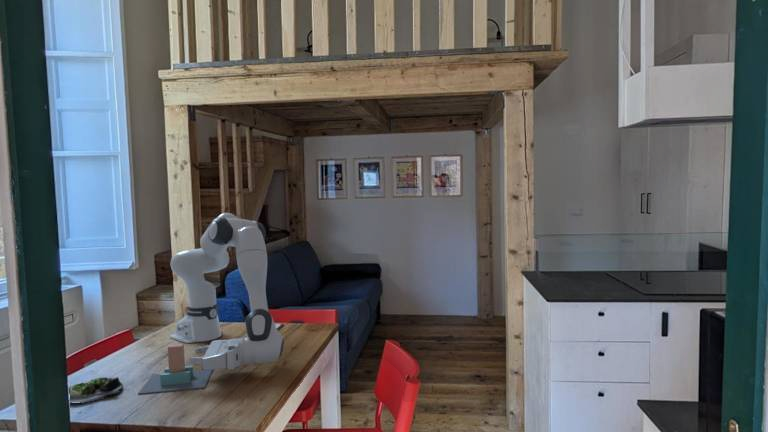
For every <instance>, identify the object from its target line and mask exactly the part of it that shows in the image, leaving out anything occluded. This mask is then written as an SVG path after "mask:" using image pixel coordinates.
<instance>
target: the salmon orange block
mask: <svg viewBox="0 0 768 432" xmlns="http://www.w3.org/2000/svg"><path fill="white" fill-rule="evenodd" d="M184 344H185V343H177V344H169V345H168V346H167V356H168V357H167V359H168V361H167V362H168V363H167V364H168V368H169V373H173V372H184V371H185V366H186V365H185V364H186V363H185V345H184Z"/></svg>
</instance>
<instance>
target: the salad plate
mask: <svg viewBox="0 0 768 432" xmlns="http://www.w3.org/2000/svg"><path fill="white" fill-rule="evenodd" d="M68 387H69V394H70V405H71V403H72V402H80V403H82V402H88V403H90V402H89V401H92V402H95V401H94V400H96V401H99V400H102V398H104V399H106V397H107V398H110V396H111V397H113V396H115V394H116V395H117V393H118V394H119V393H121V392H122V390H123V388H124V384H123V383H122V382H121V381H120V379H119V376H117V377H113V376H111V377H109V376H108V377H106V376H105V377H99V378H98V377H97V378H95V379H91V380H90V381H87V382H86V381H85V382H81V383H77V384H74V385H71V386H68ZM98 399H99V400H98Z"/></svg>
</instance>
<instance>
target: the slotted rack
mask: <svg viewBox="0 0 768 432" xmlns="http://www.w3.org/2000/svg"><path fill="white" fill-rule="evenodd" d="M163 371H164V372H163V373H160V374H161V375H160V381H161V386H163V385H173V384H184V383H190V382H191V377H193V376H194V371H195V370H194V365H185V371H184V372H173V373H169V367H165V368H164V369H163Z"/></svg>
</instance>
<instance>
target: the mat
mask: <svg viewBox="0 0 768 432" xmlns="http://www.w3.org/2000/svg"><path fill="white" fill-rule="evenodd" d="M193 371H194V376H193V377H191V382H190V383H184V384H173V385H163V386H161V381H160V375H161V374H162V373H154V374H152V375H150V377H149V378H148V380H147V381H146V382H145V384H144V385H143V386H142V388H140V390H139V392H138V394H137V395H147V394H160V393H170V392H180V391H188V390H189V391H190V390H200V389H205V388H206V386H207V384H208V382H209V380H210V377H211V375H212V372H213V371H214V370H206V369H201V370H199V369H198V370H193Z"/></svg>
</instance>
